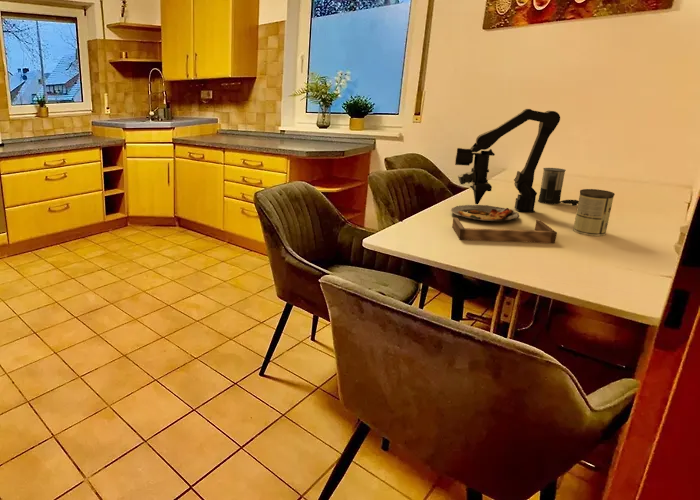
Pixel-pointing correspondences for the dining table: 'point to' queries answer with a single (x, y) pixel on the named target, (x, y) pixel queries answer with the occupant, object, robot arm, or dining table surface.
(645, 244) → the dining table surface
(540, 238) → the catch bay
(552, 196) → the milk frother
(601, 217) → the coffee can
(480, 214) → the food plate
